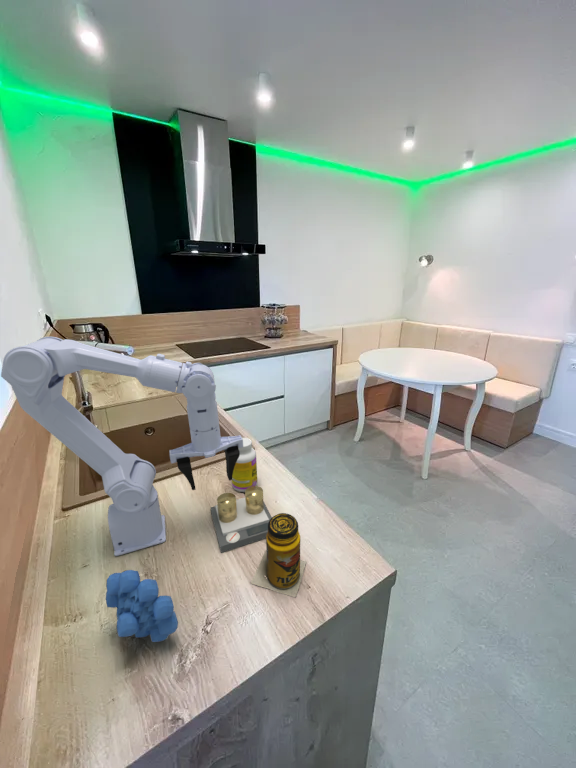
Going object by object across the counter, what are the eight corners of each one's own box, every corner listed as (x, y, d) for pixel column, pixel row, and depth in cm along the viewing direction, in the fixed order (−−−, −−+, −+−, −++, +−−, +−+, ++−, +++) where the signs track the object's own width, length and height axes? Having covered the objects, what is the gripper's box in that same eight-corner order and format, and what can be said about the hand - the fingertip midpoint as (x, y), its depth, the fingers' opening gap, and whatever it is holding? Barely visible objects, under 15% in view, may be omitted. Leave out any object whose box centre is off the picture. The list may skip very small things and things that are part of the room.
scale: (221, 553, 61) (220, 544, 60) (211, 513, 72) (210, 505, 71) (277, 534, 66) (277, 526, 65) (260, 499, 76) (259, 491, 75)
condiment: (295, 598, 53) (296, 543, 49) (250, 584, 55) (247, 531, 51) (306, 562, 59) (307, 511, 55) (265, 551, 62) (263, 502, 58)
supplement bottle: (255, 493, 78) (253, 449, 74) (229, 493, 78) (226, 448, 74) (258, 477, 85) (257, 435, 80) (234, 477, 85) (231, 435, 81)
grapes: (92, 652, 45) (74, 592, 41) (127, 607, 51) (113, 551, 47) (161, 678, 42) (148, 616, 38) (189, 627, 48) (180, 569, 44)
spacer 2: (265, 511, 69) (265, 494, 67) (248, 516, 68) (247, 499, 66) (260, 500, 72) (260, 484, 71) (244, 505, 71) (243, 488, 70)
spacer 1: (222, 525, 65) (221, 508, 64) (215, 514, 68) (214, 497, 67) (240, 518, 67) (238, 500, 66) (232, 507, 70) (231, 490, 69)
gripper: (166, 442, 55) (177, 503, 60) (245, 426, 61) (249, 484, 65) (165, 426, 62) (175, 483, 66) (236, 412, 67) (241, 466, 71)
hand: (211, 482), depth 66 cm, fingers open, 7 cm apart
